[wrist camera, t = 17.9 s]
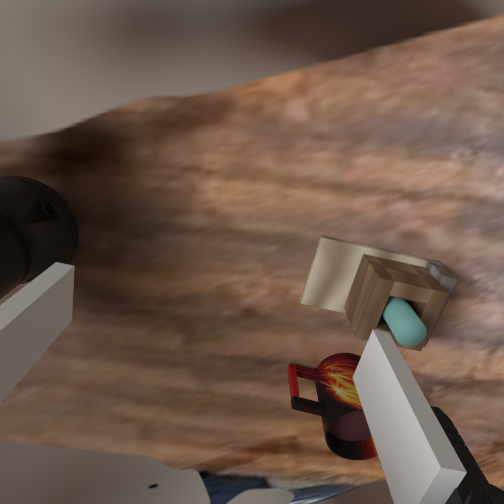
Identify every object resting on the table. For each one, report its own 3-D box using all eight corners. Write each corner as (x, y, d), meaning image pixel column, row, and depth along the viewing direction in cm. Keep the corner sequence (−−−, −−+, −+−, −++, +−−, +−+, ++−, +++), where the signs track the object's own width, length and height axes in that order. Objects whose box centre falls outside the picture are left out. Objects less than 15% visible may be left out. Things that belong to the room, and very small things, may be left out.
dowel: (364, 294, 55) (390, 343, 44) (372, 273, 54) (402, 317, 43) (387, 299, 55) (419, 348, 44) (396, 278, 54) (431, 323, 43)
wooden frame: (300, 300, 57) (304, 321, 51) (320, 235, 53) (327, 250, 47) (410, 323, 58) (426, 347, 52) (439, 261, 54) (459, 279, 48)
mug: (286, 358, 61) (291, 415, 50) (370, 349, 60) (395, 405, 49) (293, 403, 65) (299, 465, 54) (372, 395, 64) (396, 457, 52)
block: (343, 306, 56) (356, 338, 48) (363, 253, 53) (379, 278, 45) (400, 318, 56) (420, 351, 49) (423, 266, 53) (448, 293, 46)
